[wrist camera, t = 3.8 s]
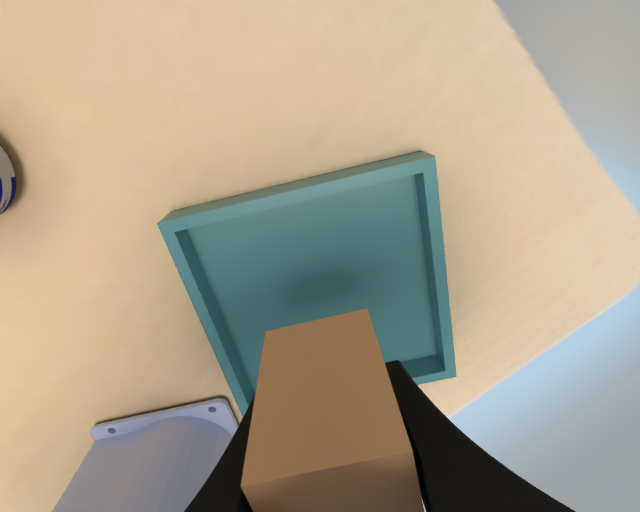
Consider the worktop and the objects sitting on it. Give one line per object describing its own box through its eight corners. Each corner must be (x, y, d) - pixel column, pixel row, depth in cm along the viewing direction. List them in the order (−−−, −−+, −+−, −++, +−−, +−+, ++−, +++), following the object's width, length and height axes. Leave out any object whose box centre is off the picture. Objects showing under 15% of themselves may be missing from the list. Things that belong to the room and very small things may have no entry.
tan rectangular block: (292, 406, 15) (287, 578, 10) (265, 331, 14) (240, 486, 8) (384, 386, 15) (431, 551, 9) (367, 308, 13) (412, 450, 8)
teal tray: (249, 396, 24) (244, 420, 22) (171, 211, 18) (157, 223, 17) (444, 354, 23) (456, 376, 21) (421, 150, 18) (435, 156, 16)
